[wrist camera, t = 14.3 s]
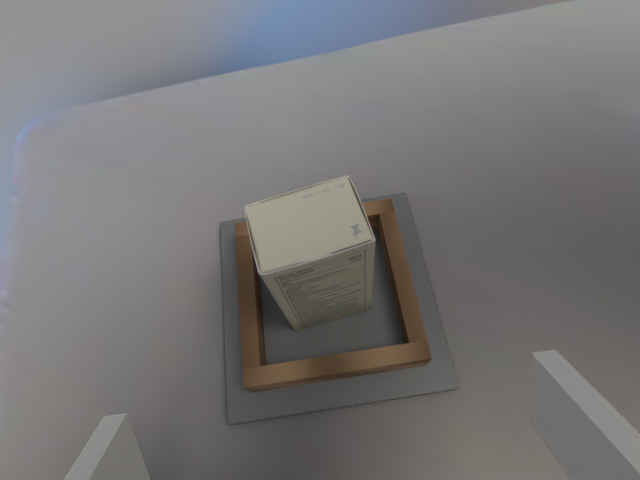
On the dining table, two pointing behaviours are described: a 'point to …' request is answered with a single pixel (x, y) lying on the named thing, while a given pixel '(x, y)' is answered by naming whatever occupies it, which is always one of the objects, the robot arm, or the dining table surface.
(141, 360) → the dining table surface
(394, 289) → the walnut collar
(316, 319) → the skincare box
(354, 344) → the slate tray
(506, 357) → the dining table surface
